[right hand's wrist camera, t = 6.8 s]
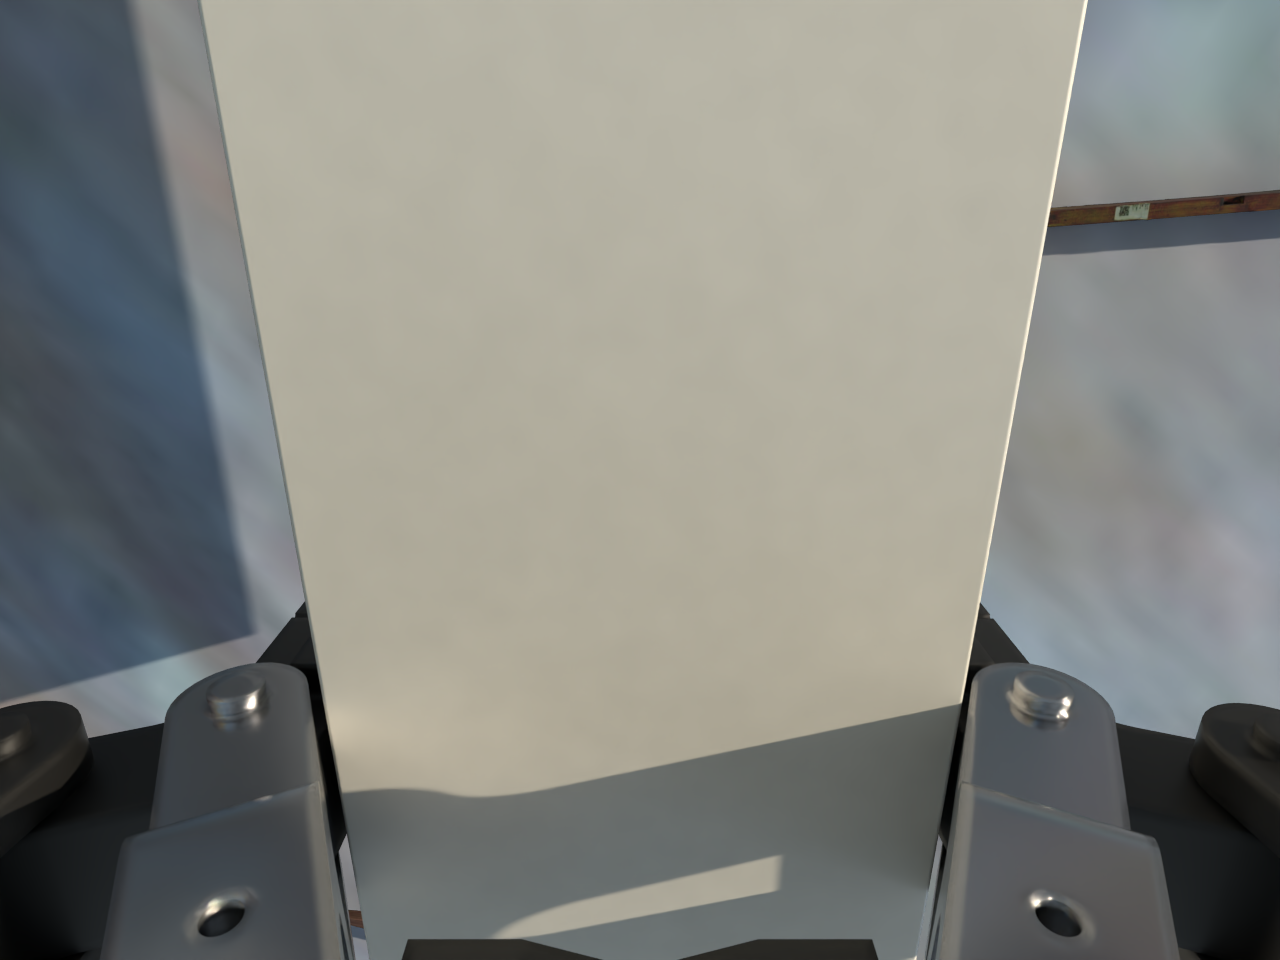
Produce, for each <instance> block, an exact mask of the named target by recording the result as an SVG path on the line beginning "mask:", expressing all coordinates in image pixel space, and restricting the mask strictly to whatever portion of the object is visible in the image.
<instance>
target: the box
mask: <svg viewBox="0 0 1280 960" xmlns="http://www.w3.org/2000/svg"><path fill="white" fill-rule="evenodd" d="M1087 1H1088V0H197V2H198V7H199V13H200V18H201V24H202V30H203V35H204V41H205V46H206V52H207V57H208V63H209V69H210V74H211V80H212V85H213V91H214V96H215V102H216V108H217V113H218V119H219V124H220V130H221V135H222V141H223V146H224V152H225V158H226V163H227V169H228V174H229V180H230V185H231V191H232V197H233V202H234V208H235V213H236V219H237V224H238V230H239V236H240V241H241V247H242V252H243V258H244V263H245V269H246V274H247V280H248V286H249V291H250V297H251V302H252V308H253V313H254V319H255V325H256V330H257V336H258V341H259V347H260V352H261V358H262V364H263V369H264V375H265V380H266V386H267V391H268V397H269V402H270V408H271V414H272V419H273V425H274V430H275V436H276V441H277V447H278V453H279V458H280V464H281V469H282V475H283V480H284V486H285V492H286V497H287V503H288V508H289V514H290V519H291V525H292V530H293V536H294V542H295V547H296V553H297V558H298V564H299V569H300V575H301V581H302V586H303V592H304V597H305V603H306V608H307V614H308V619H309V625H310V631H311V636H312V642H313V647H314V653H315V658H316V664H317V670H318V675H319V681H320V686H321V692H322V697H323V703H324V709H325V714H326V720H327V725H328V731H329V736H330V742H331V747H332V753H333V759H334V764H335V770H336V775H337V781H338V786H339V792H340V798H341V803H342V809H343V814H344V820H345V825H346V831H347V837H348V842H349V848H350V853H351V859H352V864H353V870H354V875H355V881H356V887H357V892H358V898H359V903H360V909H361V914H362V920H363V926H364V931H365V937H366V942H367V948H368V953H369V959H370V960H402V956H403V953H404V950H405V947H406V943H407V940H408V939H523V940H527V941H531V942H535V943H539V944H543V945H547V946H551V947H555V948H559V949H563V950H566V951H570V952H574V953H578V954H582V955H586V956H590V957H594V958H598V959H602V960H678V959H682V958H686V957H690V956H694V955H698V954H702V953H706V952H710V951H714V950H717V949H721V948H725V947H729V946H733V945H737V944H741V943H745V942H749V941H753V940H757V939H872V940H873V943H874V947H875V950H876V953H877V957H878V960H916V957H917V951H918V946H919V940H920V935H921V929H922V924H923V918H924V912H925V907H926V901H927V896H928V890H929V884H930V879H931V873H932V868H933V862H934V856H935V851H936V845H937V840H938V834H939V828H940V823H941V817H942V812H943V806H944V801H945V795H946V789H947V784H948V778H949V773H950V767H951V761H952V756H953V750H954V745H955V739H956V733H957V728H958V722H959V717H960V711H961V706H962V700H963V694H964V689H965V683H966V678H967V672H968V666H969V661H970V655H971V650H972V644H973V638H974V633H975V627H976V622H977V616H978V610H979V605H980V599H981V594H982V588H983V583H984V577H985V571H986V566H987V560H988V555H989V549H990V543H991V538H992V532H993V527H994V521H995V515H996V510H997V504H998V499H999V493H1000V488H1001V482H1002V476H1003V471H1004V465H1005V460H1006V454H1007V448H1008V443H1009V437H1010V432H1011V426H1012V420H1013V415H1014V409H1015V404H1016V398H1017V392H1018V387H1019V381H1020V376H1021V370H1022V365H1023V359H1024V353H1025V348H1026V342H1027V337H1028V331H1029V325H1030V320H1031V314H1032V309H1033V303H1034V297H1035V292H1036V286H1037V281H1038V275H1039V270H1040V264H1041V258H1042V253H1043V247H1044V242H1045V236H1046V230H1047V225H1048V219H1049V214H1050V208H1051V202H1052V197H1053V191H1054V186H1055V180H1056V174H1057V169H1058V163H1059V158H1060V152H1061V147H1062V141H1063V135H1064V130H1065V124H1066V119H1067V113H1068V107H1069V102H1070V96H1071V91H1072V85H1073V79H1074V74H1075V68H1076V63H1077V57H1078V52H1079V46H1080V40H1081V35H1082V29H1083V24H1084V18H1085V12H1086V7H1087Z"/></svg>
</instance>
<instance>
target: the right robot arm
mask: <svg viewBox="0 0 1280 960" xmlns="http://www.w3.org/2000/svg"><path fill="white" fill-rule="evenodd" d="M295 614H296V615H295V618H291V619H290V621H289V622H288V623H287V624H286V626H285V627H284V628H283V629H282V631H281V632H280V633H279V634H278V636H277V637H276V638H275V639H274V641H273V642H272V643H271V644H270V646H269V647H268V648H267V649H266V651H265V652H264V653H263V655H262V656H261V657H260V658H259V660H258V661H257V662H256V663H253V664H247V665H241V666H237V667H233V668H230V669H226V670H223V671H221V672H218V673H215V674H213V675H211V676H208V677H206V678H204V679H202V680H201V681H199V682H197V683H195V684H194V685H192V686H191V687H189V688H188V689H186V690H185V691H184V692H183V693H181V694H180V695H179V696H178V697H177V698H176V699H175V700H174V701H173V703H172V704H171V705H170V707H169V709H168V710H167V713H166V717H165V722H164V723H162V724H157V725H153V726H148V727H143V728H138V729H133V730H128V731H123V732H118V733H113V734H108V735H103V736H97V737H92V738H88V736H87V733H86V730H85V727H84V724H83V721H82V717H81V714H80V713H79V711H78V710H77V709H76V708H75V707H73V706H72V705H69V704H67V703H63V702H57V701H36V702H28V703H21V704H16V705H12V706H8V707H4V708H1V709H0V960H356V959H355V952H354V945H353V939H352V932H351V925H350V918H349V911H348V904H347V898H346V891H345V884H344V877H343V870H342V865H341V859H340V854H339V849H340V847H341V845H342V843H343V840H344V838H345V836H346V834H347V831H346V825H345V820H344V814H343V809H342V803H341V798H340V792H339V786H338V781H337V775H336V770H335V764H334V759H333V753H332V747H331V742H330V736H329V731H328V725H327V720H326V714H325V709H324V703H323V697H322V692H321V686H320V681H319V675H318V670H317V664H316V658H315V653H314V647H313V642H312V636H311V631H310V625H309V619H308V614H307V608H306V603H305V602H304V603H303V604H302V606H301V607H300V608H299V609H298V611H297V612H296V613H295ZM939 836H940V838H941V840H942V842H943V843H942V848H941V854H940V859H939V865H938V870H937V877H936V884H935V891H934V898H933V904H932V911H931V918H930V925H929V932H928V939H927V945H926V952H925V959H924V960H1280V710H1278V709H1274V708H1270V707H1266V706H1260V705H1254V704H1244V703H1227V704H1221V705H1217V706H1214V707H1212V708H1210V709H1209V710H1207V711H1206V712H1205V713H1204V715H1203V717H1202V720H1201V723H1200V726H1199V729H1198V732H1197V735H1196V739H1191V738H1186V737H1181V736H1176V735H1171V734H1166V733H1161V732H1156V731H1150V730H1145V729H1140V728H1135V727H1131V726H1127V725H1122V724H1119V723H1116V722H1115V717H1114V713H1113V710H1112V709H1111V707H1110V705H1109V704H1108V703H1107V701H1106V700H1105V699H1104V698H1103V697H1102V696H1101V695H1100V694H1099V693H1097V692H1096V691H1095V690H1094V689H1092V688H1091V687H1089V686H1088V685H1086V684H1085V683H1083V682H1081V681H1079V680H1078V679H1076V678H1074V677H1072V676H1069V675H1067V674H1065V673H1062V672H1059V671H1057V670H1054V669H1050V668H1047V667H1043V666H1039V665H1033V664H1030V663H1029V662H1028V661H1027V660H1026V659H1025V657H1024V656H1023V655H1022V654H1021V652H1020V651H1019V650H1018V649H1017V647H1016V646H1015V645H1014V644H1013V642H1012V641H1011V640H1010V639H1009V638H1008V636H1007V635H1006V634H1005V633H1004V631H1003V630H1002V629H1001V628H1000V626H999V625H998V624H997V623H996V621H995V620H994V619H990V614H989V613H988V612H987V610H986V609H985V608H984V607H983V605H982V604H981V603H980V605H979V610H978V616H977V622H976V627H975V633H974V638H973V644H972V650H971V655H970V661H969V666H968V672H967V678H966V683H965V689H964V694H963V700H962V706H961V711H960V717H959V722H958V728H957V733H956V739H955V745H954V750H953V756H952V761H951V767H950V773H949V778H948V784H947V789H946V795H945V801H944V806H943V812H942V817H941V823H940V828H939ZM402 960H602V959H598V958H594V957H590V956H586V955H582V954H578V953H574V952H570V951H566V950H563V949H559V948H555V947H551V946H547V945H543V944H539V943H535V942H531V941H527V940H523V939H408V940H407V943H406V947H405V950H404V953H403V956H402ZM678 960H878V957H877V953H876V950H875V947H874V943H873V940H872V939H757V940H753V941H749V942H745V943H741V944H737V945H733V946H729V947H725V948H721V949H717V950H714V951H710V952H706V953H702V954H698V955H694V956H690V957H686V958H682V959H678Z"/></svg>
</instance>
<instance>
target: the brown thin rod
mask: <svg viewBox="0 0 1280 960" xmlns="http://www.w3.org/2000/svg"><path fill="white" fill-rule="evenodd" d="M1276 209H1280V190H1274V191H1263V192H1252V193H1241V194H1228V195H1216V196H1205V197H1191V198H1179V199H1165V200H1153V201H1141V202H1125V203H1113V204H1098V205H1084V206H1071V207H1057V208H1050V214H1049V219H1048V225H1047V227H1055V226H1069V225H1082V224H1096V223H1109V222H1121V221H1133V220H1150V219H1159V218H1173V217H1185V216H1197V215H1210V214H1223V213H1236V212H1251V211H1263V210H1276Z"/></svg>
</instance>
